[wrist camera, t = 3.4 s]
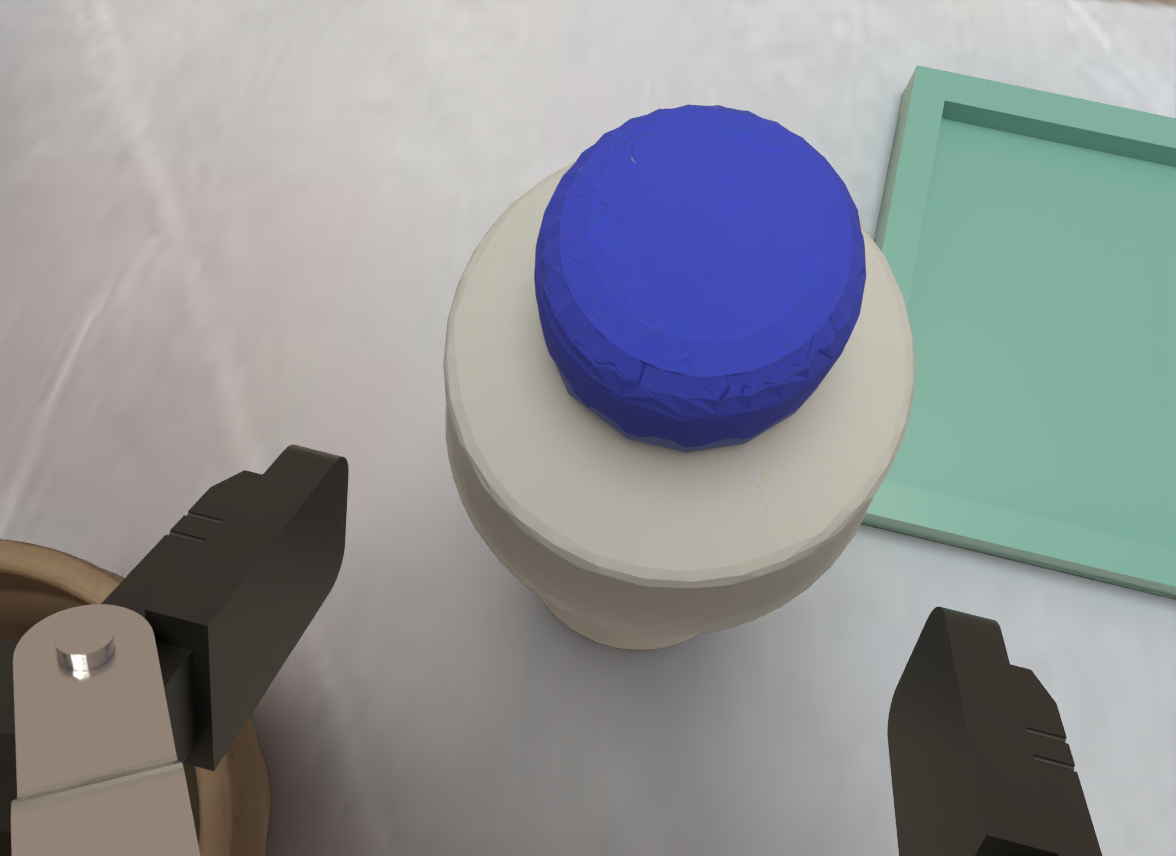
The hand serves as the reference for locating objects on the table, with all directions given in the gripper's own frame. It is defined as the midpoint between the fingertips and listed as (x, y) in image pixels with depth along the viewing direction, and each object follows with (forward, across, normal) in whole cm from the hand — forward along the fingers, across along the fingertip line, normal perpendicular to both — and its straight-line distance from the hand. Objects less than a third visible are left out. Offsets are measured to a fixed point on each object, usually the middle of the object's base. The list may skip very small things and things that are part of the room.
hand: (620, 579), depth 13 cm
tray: (+19, -12, +2) cm, 22 cm away
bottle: (+12, 0, +9) cm, 15 cm away
